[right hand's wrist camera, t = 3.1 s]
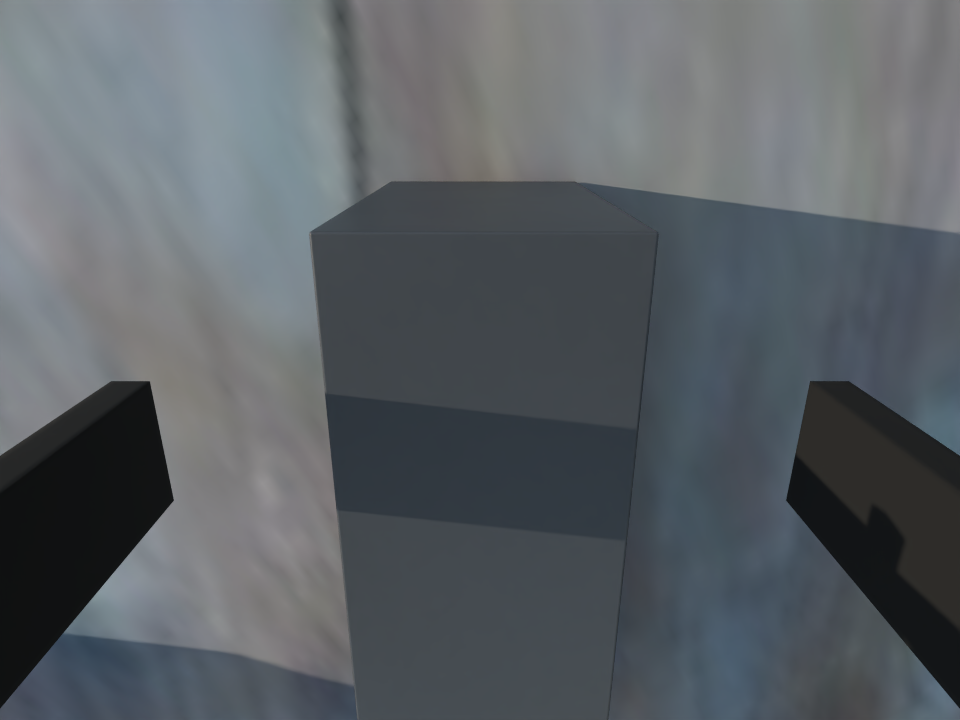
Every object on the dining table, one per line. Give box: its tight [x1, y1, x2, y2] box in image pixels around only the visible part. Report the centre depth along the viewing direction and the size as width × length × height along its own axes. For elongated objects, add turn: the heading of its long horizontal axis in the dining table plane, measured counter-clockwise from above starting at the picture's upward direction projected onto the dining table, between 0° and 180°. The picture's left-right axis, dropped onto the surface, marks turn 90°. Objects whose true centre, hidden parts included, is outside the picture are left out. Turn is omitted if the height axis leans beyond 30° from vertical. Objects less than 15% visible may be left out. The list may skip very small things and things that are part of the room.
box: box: [309, 182, 658, 720], centre depth 21 cm, size 25×6×11 cm, turn 0°
